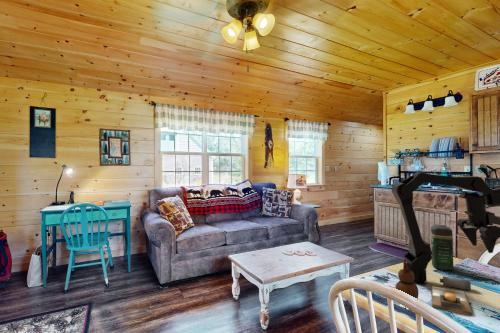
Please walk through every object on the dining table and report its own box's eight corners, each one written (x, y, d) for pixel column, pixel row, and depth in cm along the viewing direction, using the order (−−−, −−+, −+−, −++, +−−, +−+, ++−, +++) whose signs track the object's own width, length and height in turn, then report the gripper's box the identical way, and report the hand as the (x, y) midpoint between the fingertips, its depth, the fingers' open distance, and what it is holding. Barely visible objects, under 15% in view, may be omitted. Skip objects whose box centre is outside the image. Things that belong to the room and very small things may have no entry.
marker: (440, 286, 102) (439, 277, 102) (439, 283, 105) (439, 274, 105) (471, 291, 97) (470, 282, 97) (469, 288, 100) (469, 279, 100)
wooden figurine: (408, 310, 86) (406, 263, 86) (392, 302, 91) (391, 258, 91) (422, 305, 89) (420, 260, 89) (406, 297, 94) (404, 255, 94)
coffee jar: (455, 272, 114) (453, 228, 114) (433, 269, 118) (431, 227, 118) (451, 264, 123) (450, 224, 123) (431, 262, 127) (429, 222, 127)
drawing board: (432, 307, 87) (432, 299, 87) (430, 288, 100) (430, 282, 100) (471, 315, 82) (471, 307, 82) (465, 294, 95) (464, 287, 95)
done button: (444, 300, 87) (444, 295, 87) (444, 296, 89) (444, 291, 89) (456, 302, 85) (456, 297, 85) (455, 298, 88) (455, 294, 88)
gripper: (519, 210, 93) (527, 255, 92) (483, 202, 111) (489, 240, 111) (483, 213, 95) (490, 257, 94) (453, 205, 113) (459, 242, 113)
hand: (482, 249), depth 103 cm, fingers open, 9 cm apart
